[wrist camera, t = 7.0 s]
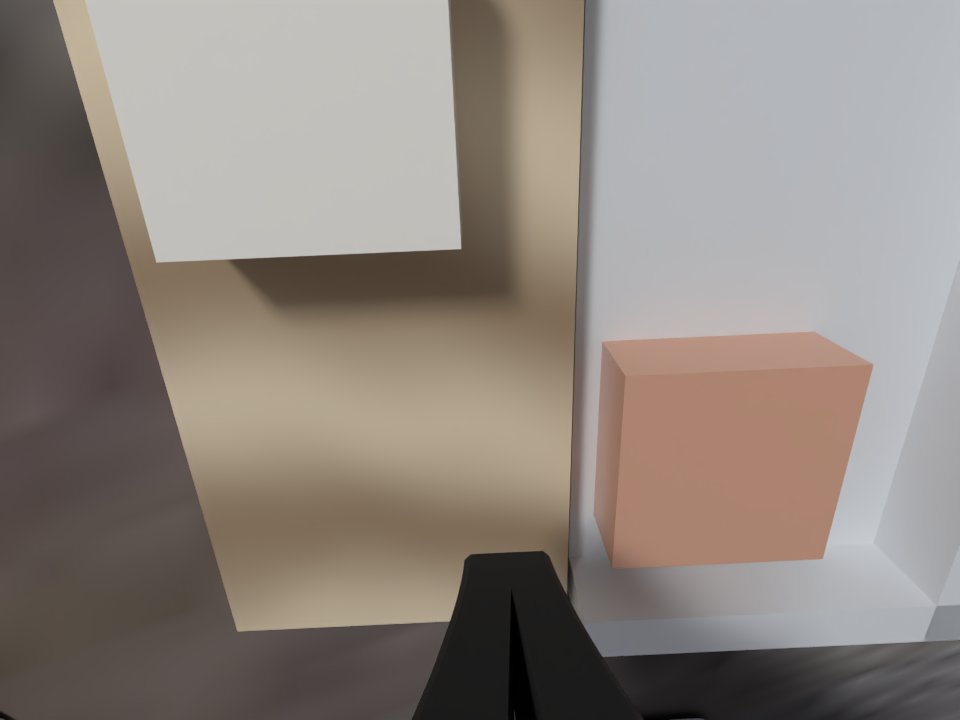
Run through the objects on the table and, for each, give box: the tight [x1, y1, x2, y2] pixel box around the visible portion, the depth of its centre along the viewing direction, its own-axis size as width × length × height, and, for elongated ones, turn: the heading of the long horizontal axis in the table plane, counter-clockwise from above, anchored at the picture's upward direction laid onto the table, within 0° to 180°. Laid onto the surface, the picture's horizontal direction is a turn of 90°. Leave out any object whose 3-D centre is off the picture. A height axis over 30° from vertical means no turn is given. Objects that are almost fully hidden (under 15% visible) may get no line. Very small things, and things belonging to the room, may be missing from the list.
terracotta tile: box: [594, 332, 873, 569], centre depth 13 cm, size 5×5×2 cm
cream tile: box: [85, 0, 462, 263], centre depth 9 cm, size 5×5×2 cm
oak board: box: [53, 0, 584, 631], centre depth 12 cm, size 18×9×1 cm, turn 2°
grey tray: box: [567, 0, 960, 657], centre depth 11 cm, size 18×10×2 cm, turn 2°
